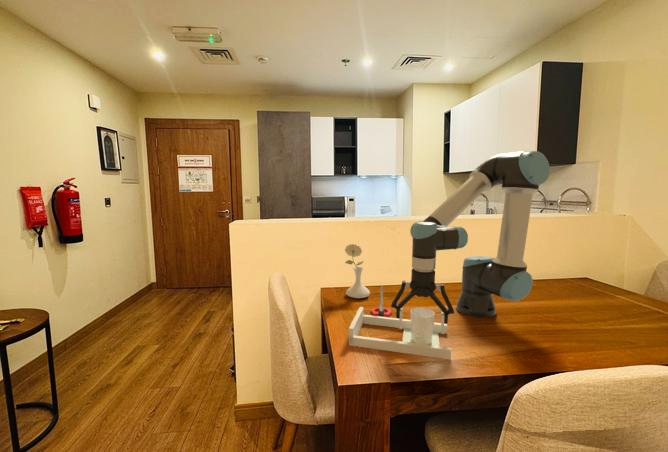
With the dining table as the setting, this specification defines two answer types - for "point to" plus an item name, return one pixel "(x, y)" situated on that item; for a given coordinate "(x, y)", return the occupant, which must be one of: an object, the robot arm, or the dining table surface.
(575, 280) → the dining table surface
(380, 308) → the red ring on peg
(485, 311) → the robot arm
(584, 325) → the dining table surface
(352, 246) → the flower in vase
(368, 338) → the bay
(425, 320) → the white cup
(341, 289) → the dining table surface
